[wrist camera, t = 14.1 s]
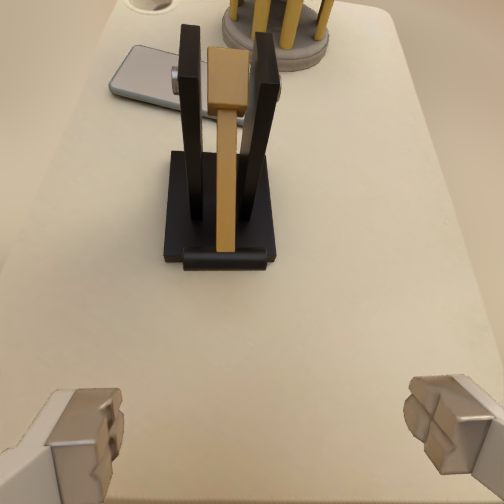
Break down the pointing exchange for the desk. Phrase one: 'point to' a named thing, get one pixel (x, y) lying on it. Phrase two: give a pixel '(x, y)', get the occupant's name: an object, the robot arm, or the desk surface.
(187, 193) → the switch bracket
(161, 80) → the smartphone
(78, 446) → the robot arm
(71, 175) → the desk surface
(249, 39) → the lantern
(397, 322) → the desk surface
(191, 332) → the desk surface
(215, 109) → the lever
